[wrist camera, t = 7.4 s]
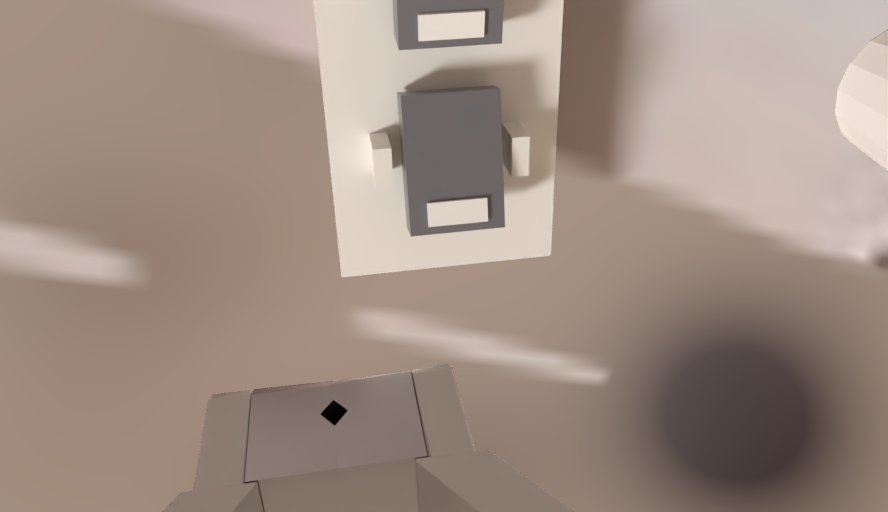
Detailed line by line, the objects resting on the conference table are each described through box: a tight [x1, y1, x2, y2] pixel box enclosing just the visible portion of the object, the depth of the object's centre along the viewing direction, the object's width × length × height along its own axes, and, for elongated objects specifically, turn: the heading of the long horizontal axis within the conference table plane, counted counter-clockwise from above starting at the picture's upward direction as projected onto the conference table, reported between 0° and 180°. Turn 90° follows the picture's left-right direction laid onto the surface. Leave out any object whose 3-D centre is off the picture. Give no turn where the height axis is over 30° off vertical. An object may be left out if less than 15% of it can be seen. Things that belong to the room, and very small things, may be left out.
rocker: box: [397, 85, 505, 237], centre depth 26 cm, size 3×5×1 cm
